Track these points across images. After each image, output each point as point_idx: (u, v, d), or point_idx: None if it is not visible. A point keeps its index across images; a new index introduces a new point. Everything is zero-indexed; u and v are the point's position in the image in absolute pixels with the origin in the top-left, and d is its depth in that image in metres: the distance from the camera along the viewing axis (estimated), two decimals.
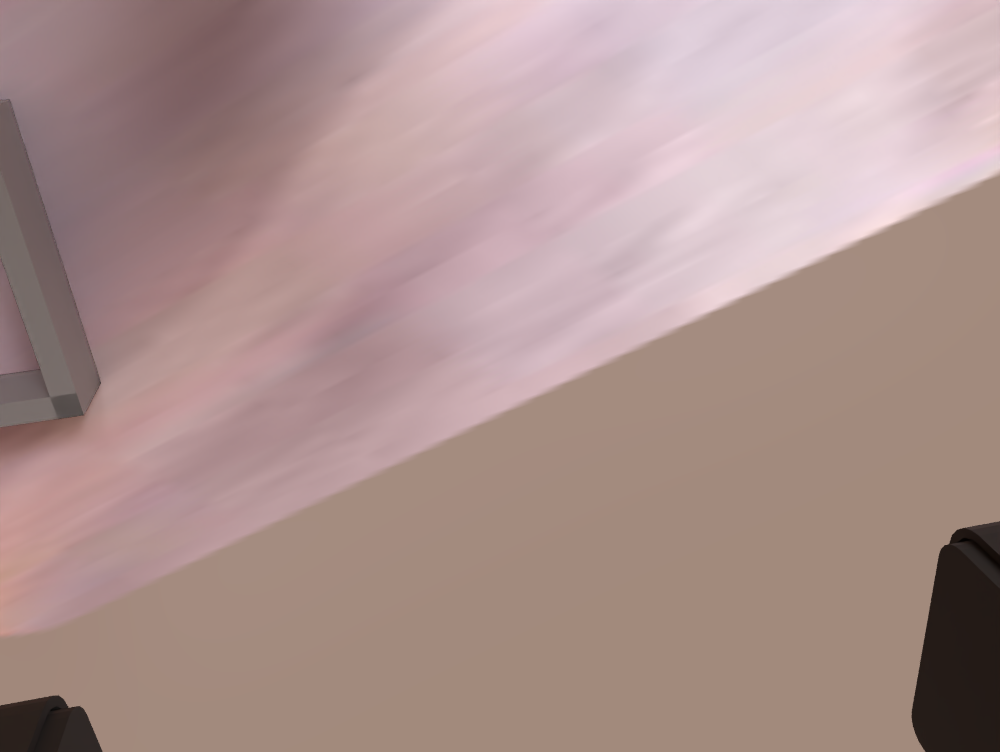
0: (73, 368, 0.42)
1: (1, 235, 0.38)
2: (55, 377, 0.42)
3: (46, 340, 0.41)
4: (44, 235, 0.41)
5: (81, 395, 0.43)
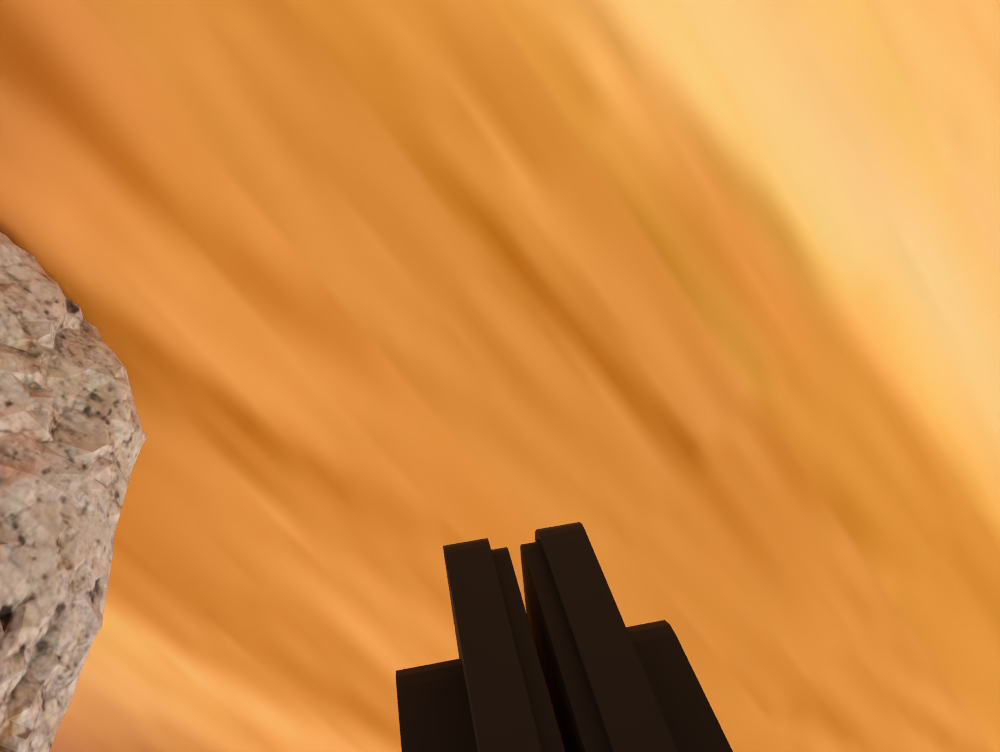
0: None
1: None
2: None
3: None
4: None
5: None
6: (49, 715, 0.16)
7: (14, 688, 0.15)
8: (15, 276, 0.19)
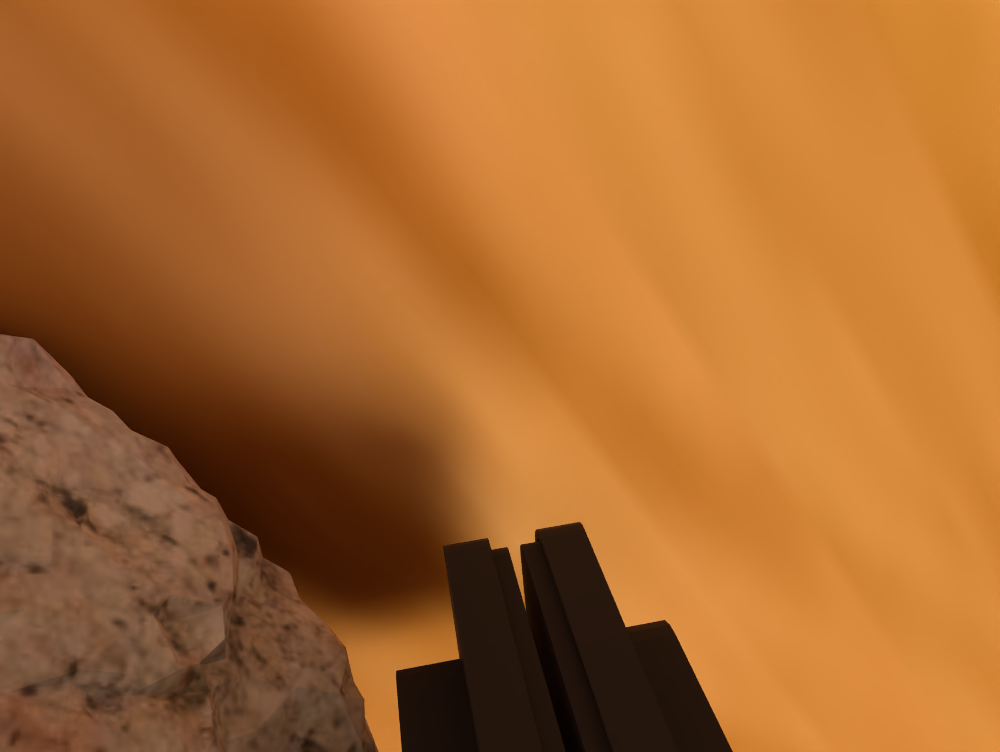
0: None
1: None
2: None
3: None
4: None
5: None
6: None
7: None
8: (143, 509, 0.09)
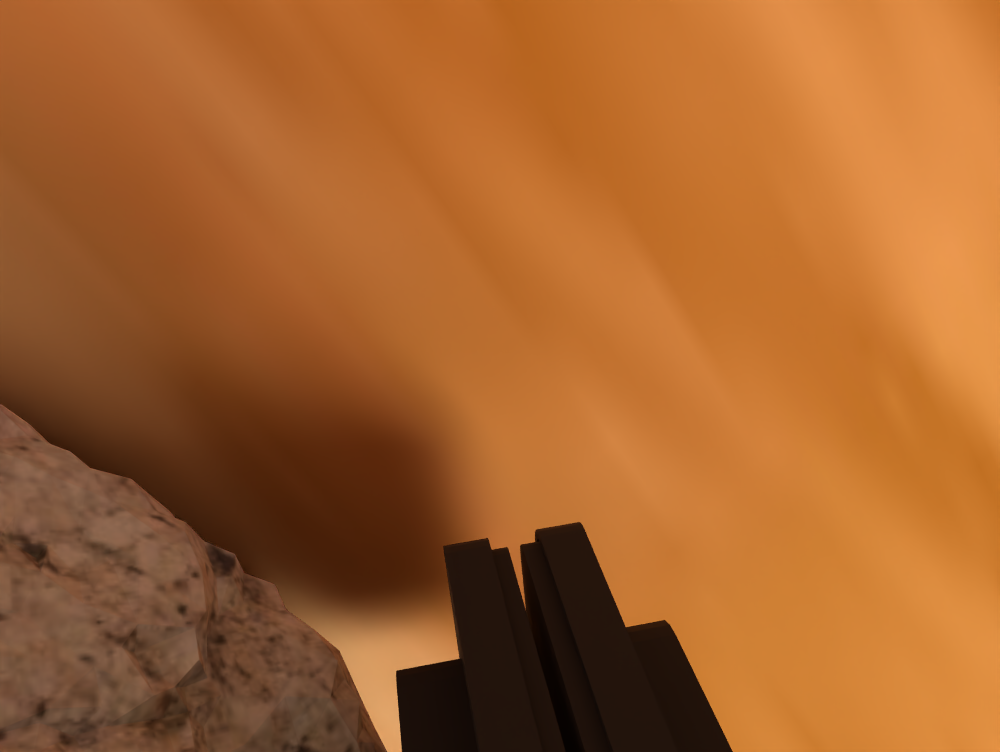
0: None
1: None
2: None
3: None
4: None
5: None
6: None
7: None
8: (105, 544, 0.09)
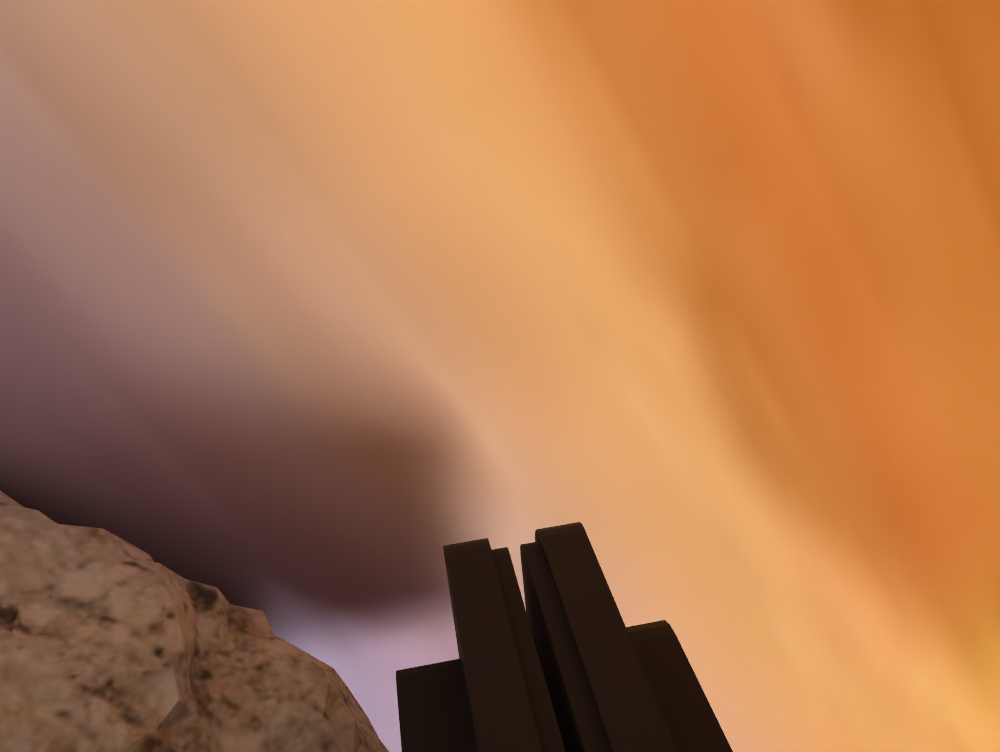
0: None
1: None
2: None
3: None
4: None
5: None
6: None
7: None
8: (77, 598, 0.09)
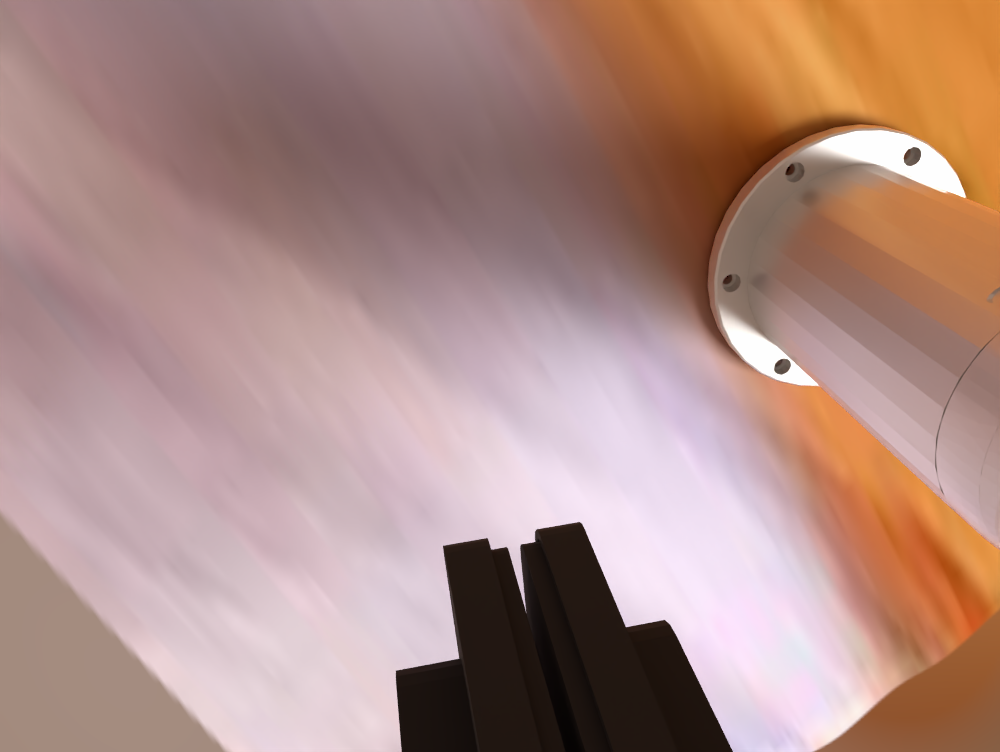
0: None
1: None
2: None
3: None
4: None
5: None
6: None
7: None
8: None
